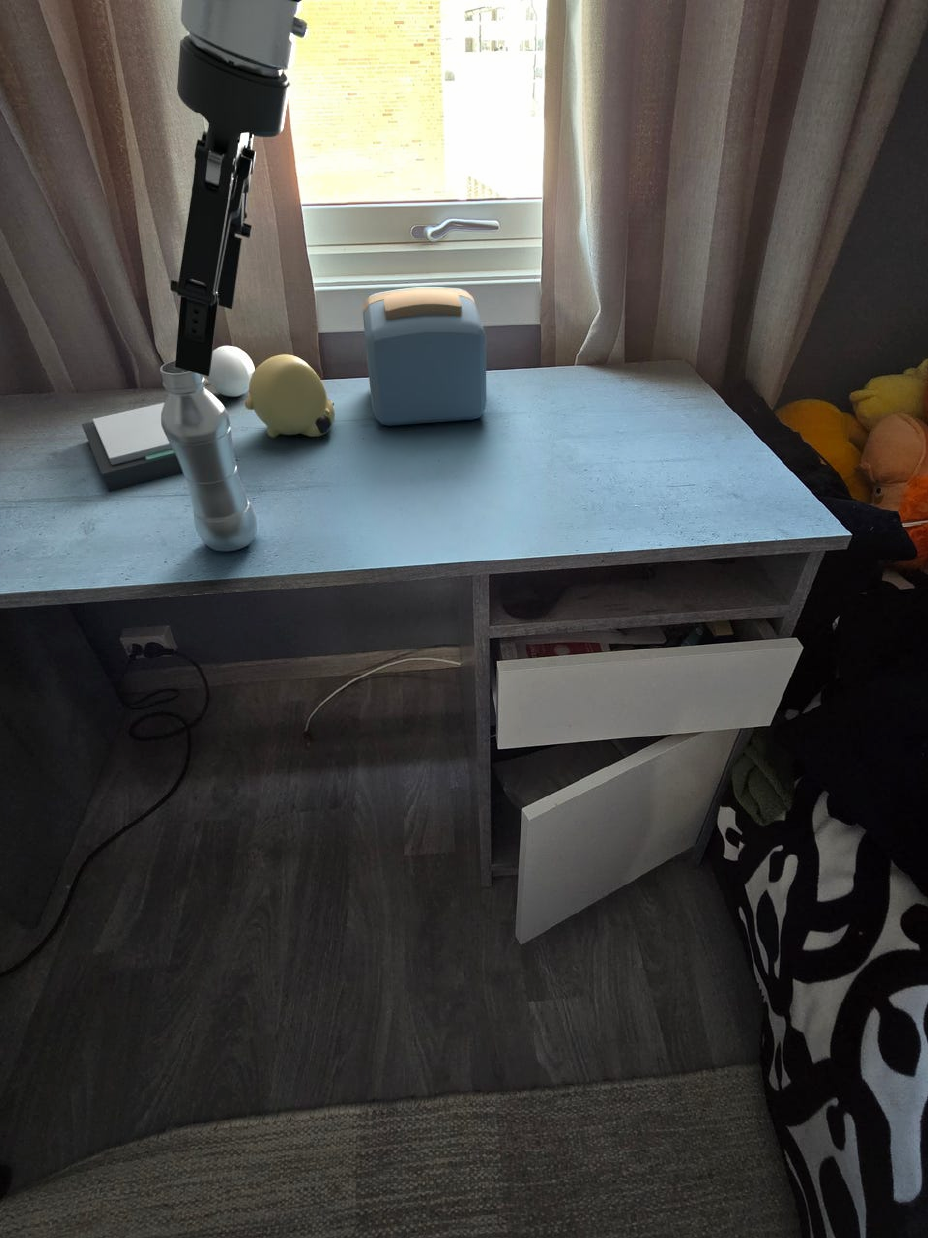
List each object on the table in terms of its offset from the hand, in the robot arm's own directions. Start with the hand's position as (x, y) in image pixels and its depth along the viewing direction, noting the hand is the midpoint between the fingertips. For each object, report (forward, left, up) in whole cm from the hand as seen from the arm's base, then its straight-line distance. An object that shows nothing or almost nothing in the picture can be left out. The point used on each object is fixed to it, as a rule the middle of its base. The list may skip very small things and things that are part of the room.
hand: (206, 334), depth 63 cm
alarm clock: (+33, +21, -23) cm, 46 cm away
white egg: (+10, +41, -23) cm, 48 cm away
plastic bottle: (-3, +1, -23) cm, 23 cm away
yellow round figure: (+13, +23, -23) cm, 35 cm away
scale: (-5, +28, -23) cm, 37 cm away
